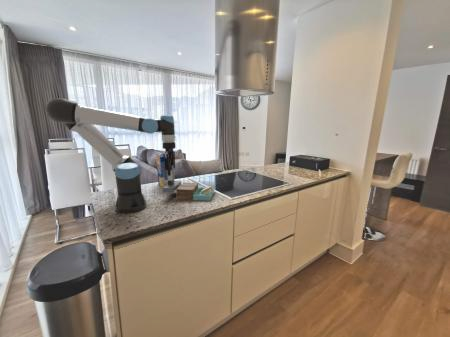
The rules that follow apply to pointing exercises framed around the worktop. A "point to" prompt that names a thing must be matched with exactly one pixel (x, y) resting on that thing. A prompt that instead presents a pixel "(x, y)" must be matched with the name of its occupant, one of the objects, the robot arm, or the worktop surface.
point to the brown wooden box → (186, 191)
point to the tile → (206, 190)
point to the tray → (199, 196)
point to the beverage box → (161, 171)
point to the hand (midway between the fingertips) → (171, 179)
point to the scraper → (172, 183)
